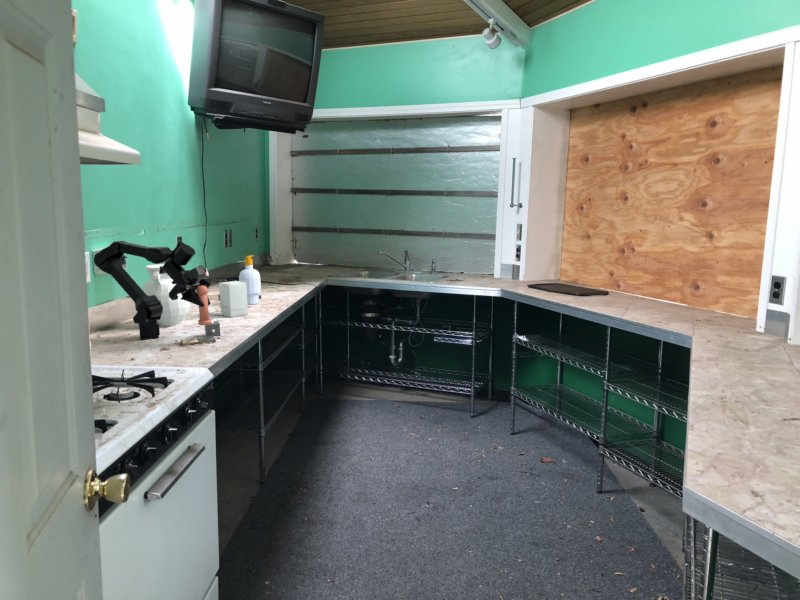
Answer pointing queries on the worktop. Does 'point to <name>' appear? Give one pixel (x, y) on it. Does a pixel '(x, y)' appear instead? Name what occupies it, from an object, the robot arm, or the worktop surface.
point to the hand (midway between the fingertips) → (206, 305)
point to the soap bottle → (251, 281)
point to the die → (212, 329)
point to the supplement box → (233, 298)
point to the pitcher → (165, 297)
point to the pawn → (204, 310)
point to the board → (198, 340)
